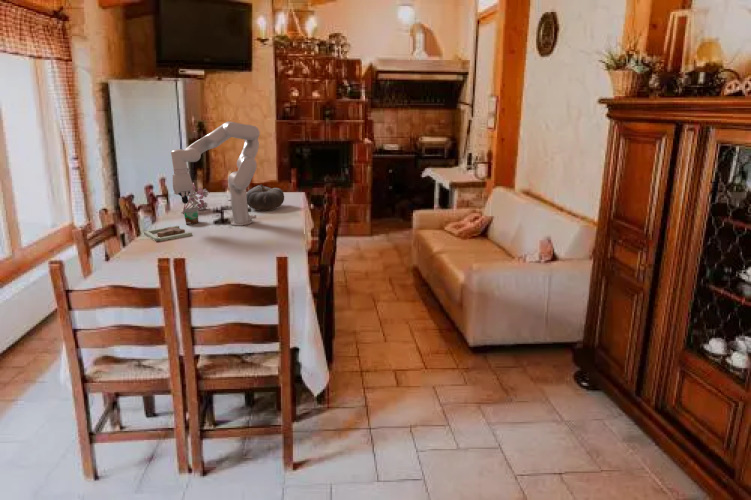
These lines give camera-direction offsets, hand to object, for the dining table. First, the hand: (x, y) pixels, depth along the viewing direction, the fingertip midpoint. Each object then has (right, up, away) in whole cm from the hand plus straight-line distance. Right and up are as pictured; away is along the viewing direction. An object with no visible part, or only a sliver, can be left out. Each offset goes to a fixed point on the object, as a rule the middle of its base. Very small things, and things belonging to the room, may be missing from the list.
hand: (185, 203), depth 317 cm
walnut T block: (-8, -19, -4) cm, 21 cm away
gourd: (+35, +1, +58) cm, 68 cm away
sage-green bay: (-8, -18, -2) cm, 20 cm away
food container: (-2, -10, +24) cm, 26 cm away
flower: (-13, 0, +58) cm, 60 cm away
